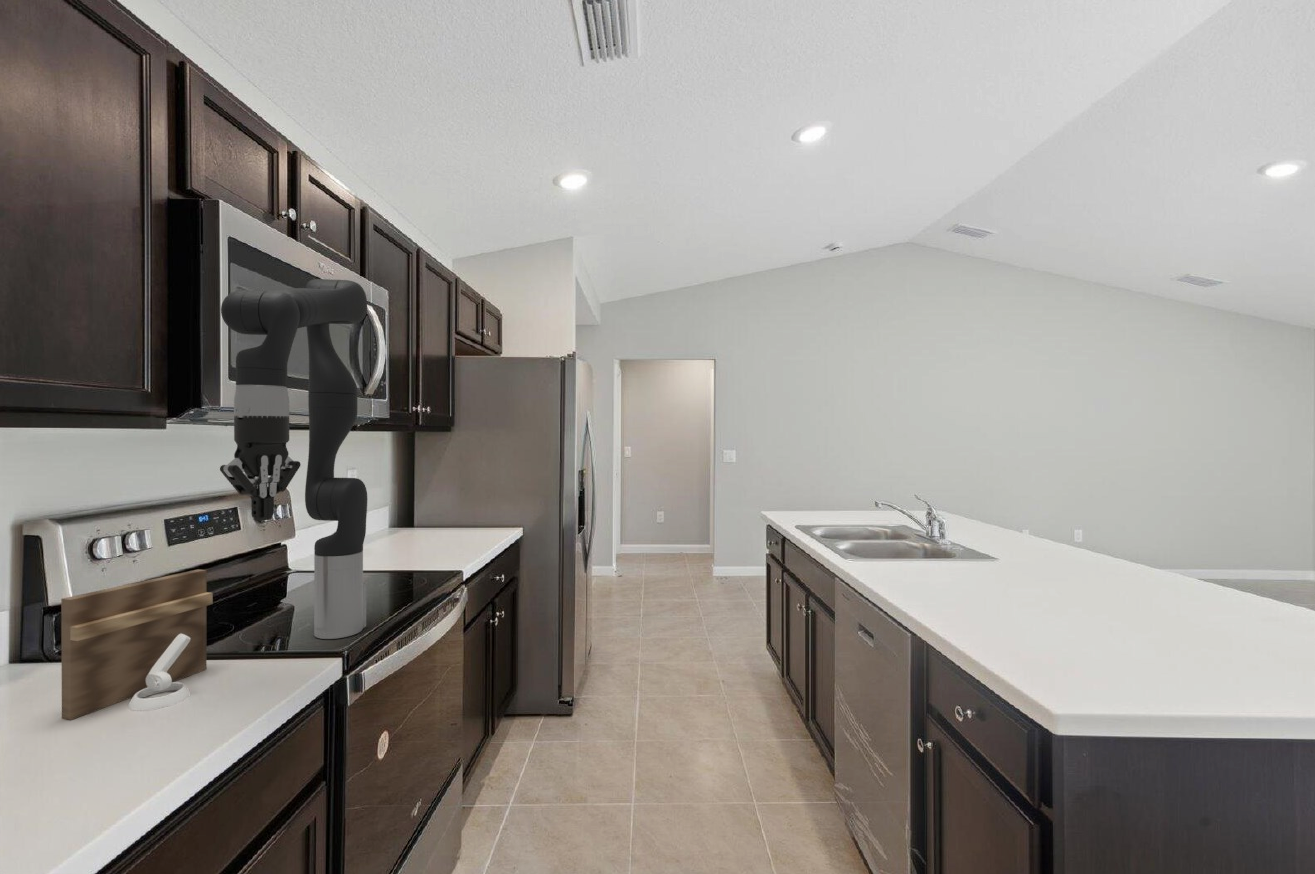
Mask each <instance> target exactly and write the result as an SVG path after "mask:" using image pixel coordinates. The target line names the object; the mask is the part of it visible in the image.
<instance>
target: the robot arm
mask: <svg viewBox="0 0 1315 874" xmlns="http://www.w3.org/2000/svg"><path fill="white" fill-rule="evenodd" d="M367 311H368V299H367V294H366V292H365V290H364V288H363V286H362V285H361V284H359V283H358V282H355V281H354V280H347V279H330V278H329V279H323V278H322V279H320V278H319V279H318V278H317V279H310V280H309V281H308V282H307V284H306V286H305V288H304V287H298V288H297V287H296V288H295V287H294V288H293V287H292V288H281V289H276V290H275V289H274V290H250V289H248V290H245V289H241V290H240V289H239V290H235V291H232V292H230V293H228V294H227V296H225V298H224V299H223V301H222V302H221V306H220V312H221V314H220V315H221V317H222V318H221V319H222V320H223V322H224V324H226V325H227V327H228V328H230V329H231V330H232V331H234V332H236V333H238V334H242V335H250V336H251V335H253V336H254V335H257V336H266V337H265V338H264V339H263V342H262V343H261V344H260V345H258V346H256V347H251V348H246V349H242V350H240V351H238V352H237V353H236V357H235V392H234V398H233V435H234V436H233V437H234V438H233V440H234V442H235V443H236V450H235V452H234V456H233V458H234V459H232V460H231V461H230V462H229V463H227V464H221V465H220V467H219V470H220V472H221V473H222V475H223V476H224V477H225V478H226V480H227V481H228V482H229V483H230V485H231V486H232V487H233V488H234V490H235V491H236V492H237V493H238V494H239V495H240V496H241V495H242V496H243V495H244V496H248V497H249V498H250V502H251V505H250V506H251V509H250V510H251V517H252V518H253V519H254V521H256V522H257V521H258V522H263V521H270V520H272V518H273V516H274V513H275V497H276V495H277V494H279V493H280V492H281V493H282V492H284V491H286V489H287V488H288V487H289V485H290V483H291V482H292V480H293V479H294V477H295V475H296V474H297V472H298V470H299V469H300V467H301V462H300V461H299V460H293V459H292V458H291V457H289V450H288V448H287V444H288V443H289V441H290V398H289V397H290V396H289V392H288V363H289V359H290V354H291V350H292V348H293V344H294V341H295V340H294V339H295V337H296V335H297V332H298V329H301V328H305V327H306V335H307V345H308V346H307V347H308V388H307V390H308V391H307V393H308V399H307V401H308V403H307V404H308V405H307V406H308V427H309V428H308V429H309V430H308V431H309V433H308V435H309V436H308V456H307V457H308V458H307V467H306V468H307V469H306V479H305V490H304V504H305V505H304V506H305V509H306V512H307V514H308V516H309V517H310V518H311V519H312V520H315V521H324V522H325V521H329V522H331V521H332V522H334V521H336V522H337V527H336V531H334V532H333V533H331V534H330V535H327V536H324V537H321V538H319V539H317V540H316V541H315V543H314V546H313V547H314V551H313V552H314V555H313V556H314V557H313V559H314V560H313V561H314V564H313V565H314V569H313V570H314V574H313V575H314V581H313V584H314V590H313V591H314V597H313V598H314V599H313V601H314V602H313V603H314V605H313V606H314V607H313V609H314V610H313V611H314V612H313V613H314V614H313V616H314V617H313V618H314V620H313V621H314V623H313V626H314V628H313V629H314V631H313V632H314V633H313V635H314V637H315V638H317V639H321V640H322V639H323V640H334V639H335V640H336V639H341V638H348V637H351V636H354V635H356V634H359V633H361V632H362V631H363V629H364V628H367V584H366V583H364V542H365V538H366V534H367V533H366V532H367V514H368V491H367V487H366V484H365V483H364V482H363V481H362V479H360V478H357V477H335V463H336V458H337V454H338V451H339V449H340V447H341V446H342V444H343V443H344V440H345V439H346V438H347V436H348V435H349V433H350V432H351V430H352V429H353V427H354V425H355V423H356V420H357V417H358V386H357V383H356V380H355V379H354V377H353V375H352V374H351V372H350V371H349V369H348V368H347V367H346V365H345V363H344V362H343V360H342V359H341V358H340V357H339V355H338V353H337V351H336V350H335V347H334V344H333V342H332V338H331V334H330V333H331V332H330V324H331V325H332V324H333V325H354V324H359V323H360V322H362V321H363V320H364V319H365V317H366V315H367Z"/></svg>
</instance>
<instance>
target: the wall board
mask: <svg viewBox="0 0 1315 874" xmlns="http://www.w3.org/2000/svg"><path fill="white" fill-rule="evenodd" d="M213 594H214V593H213V592H208V591H207V569H199V568H198V569H194V570H189V571H184V572H180V573H174V574H170V575H166V576H161V577H156V578H152V579H148V580H143V581H136V582H133V583H129V584H124V585H120V586H119V585H118V586H114V587H109V588H106V589H101V590H96V591H93V592H92V591H91V592H86V593H82V594H78V595H77V594H76V595H73V596H69V597H64V598H60V599H61V602H60V605H61V606H60V607H61V610H60V611H61V623H60V624H61V628H60V629H61V637H60V638H61V719H64V720H68V721H72V720H74V719H75V720H76V719H77V718H81V717H83V716H85V715H88V714H91V713H94V712H96V711H99V710H102V709H104V708H107V707H109V706H112V705H114V704H117V703H120V702H122V701H123V702H124V701H125V700H128V699H130V698H131V699H132V698H133V696H134V694H136V693H137V692H138V691H140V690H142V689H145V688H147V685H146V677H147V675H148V674H149V672H150V670H151V669H152V667H153V666H154V665H155V663H156V662H157V661H158V659H159V658H160V657H161V656H162V654H163V653H164V652H165V651H166V649H167V648H168V647H169V645H170V644H171V643H172V642H173V640H174V639H175V638H176V637H177V636H178V635H179V634H184V635H186V636H188V637H190V642H189V643H188V645H187V646H186V647H185V649H184V650H183V651H182V652H181V654H180V655H179V656H178V658H177V659H176V660H175V662H174V663H173V664H172V665H171V667H170V668H169V669H168V671H167V673H168V674H169V675H170V676H171V679H172V682H177V681H179V680H181V679H184V678H186V677H189V676H193V675H196V674H197V673H200V672H203V671H205V670H207V606H210V605H213V602H214V601H213V600H214V599H213V596H214V595H213ZM98 709H99V710H98Z"/></svg>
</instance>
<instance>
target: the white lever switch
mask: <svg viewBox="0 0 1315 874" xmlns="http://www.w3.org/2000/svg"><path fill="white" fill-rule="evenodd" d="M189 642H190V637H188V636H186V635H184V634H179V635H178V636H177V637H176V638H175V639H174V640H173V642H172V643H171V644H170V645H169V647H168V648H167V649H166V651H165V652H164V653H163V654H162V656H161V657H160V658H159V659H158V661H157V662H156V663H155V665H154V666H153V667H152V669H151V670H150V672H149V674H148V675H147V677H146V685H147V688H145V689H142V690H140V691H138V692H137V693H136V694H134V696H133V697H131V700H130V702H129V703H128V706H127V708H128V710H130V711H133V712H148V711H155V710H160V709H164V708H168V707H171V706H173V705H177V704H179V703H182V702H184V701H185V700H187V699H188V698H189V697H190V696H191V691H190V689H189V688H188V686H187V684H185V683H184V682H180V681H174V682H172V679H171V676H170V675H169V674H168V673H167V671H168V669H169V668H170V667H171V665H172V664H173V663H174V662H175V660H176V659H177V658H178V656H179V655H180V654H181V652H182V651H183V650H184V649H185V647H186V646H187V645H188V643H189ZM173 691H174V692H173ZM166 692H171V693H169V694H164V695H160V696H157V697H156V696H155V697H150V698H149V696H153V695H156V694H161V693H166ZM146 697H148V698H146Z"/></svg>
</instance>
